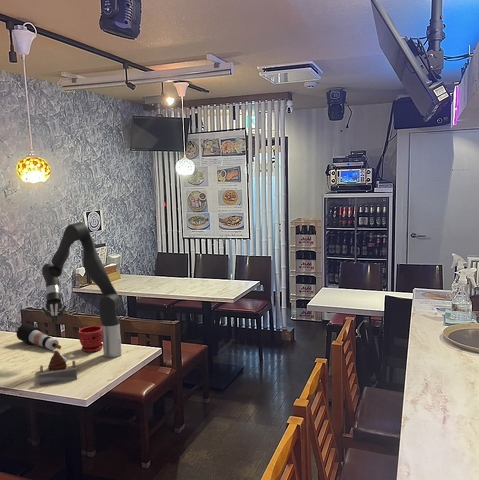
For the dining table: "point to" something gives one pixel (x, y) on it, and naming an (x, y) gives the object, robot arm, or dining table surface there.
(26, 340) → the cable
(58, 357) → the poop emoji
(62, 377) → the guide channel
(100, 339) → the plant pot
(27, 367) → the dining table surface
